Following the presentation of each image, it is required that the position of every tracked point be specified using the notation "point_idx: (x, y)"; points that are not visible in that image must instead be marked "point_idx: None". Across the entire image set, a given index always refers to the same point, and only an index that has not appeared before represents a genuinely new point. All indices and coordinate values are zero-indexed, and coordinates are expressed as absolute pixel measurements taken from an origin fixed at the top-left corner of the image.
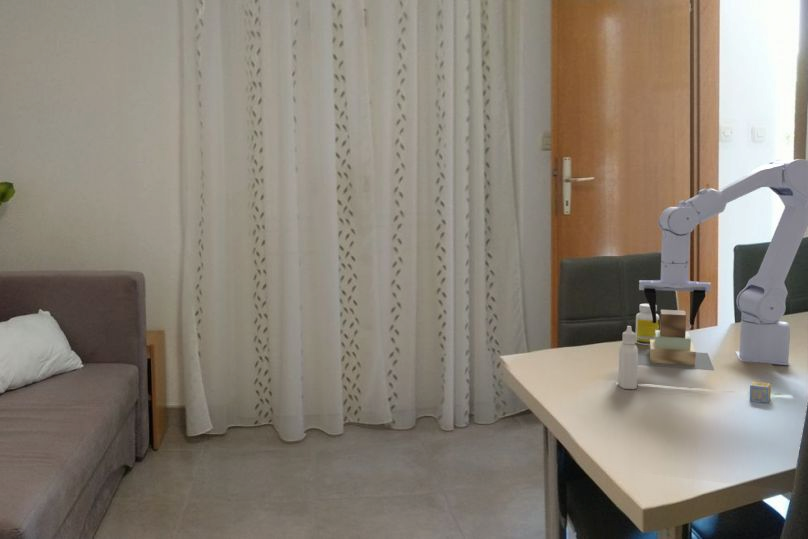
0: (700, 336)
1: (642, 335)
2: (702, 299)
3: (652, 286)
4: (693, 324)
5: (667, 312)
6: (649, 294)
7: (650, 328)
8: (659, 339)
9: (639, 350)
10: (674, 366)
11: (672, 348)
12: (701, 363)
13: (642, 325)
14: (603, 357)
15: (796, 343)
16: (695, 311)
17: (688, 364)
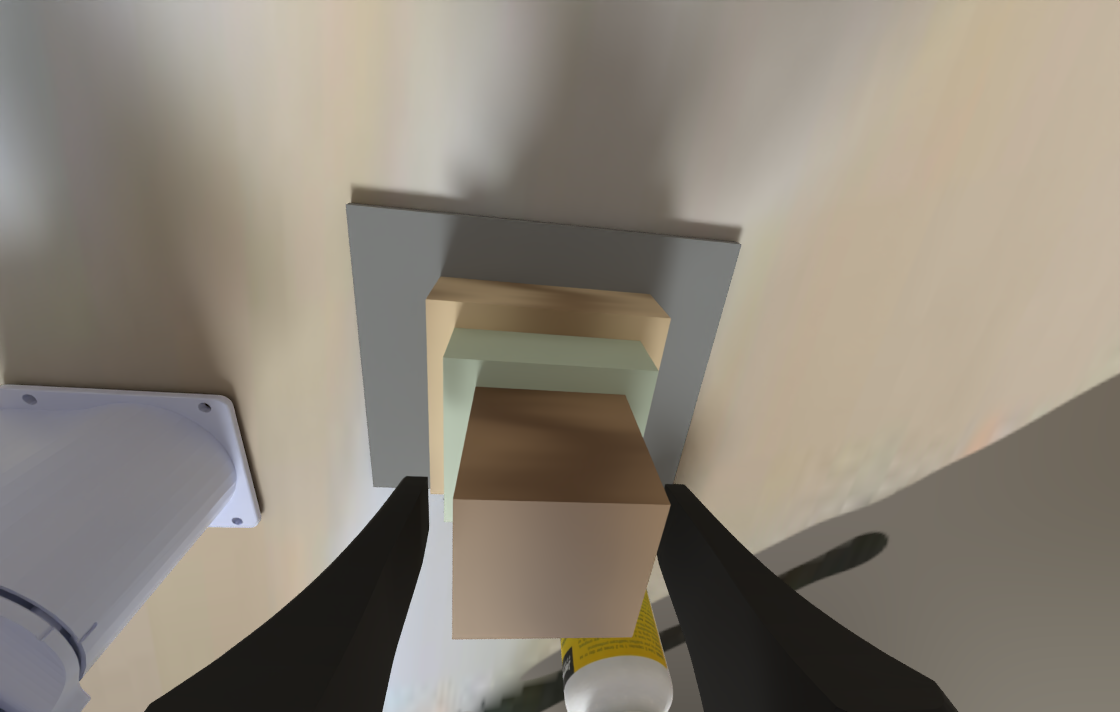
0: (394, 682)
1: None
2: (189, 687)
3: None
4: (404, 477)
5: (602, 564)
6: (929, 708)
7: None
8: (634, 362)
9: None
10: (545, 239)
11: (551, 336)
12: (407, 319)
13: (642, 629)
14: (822, 371)
15: None
16: (356, 555)
17: (472, 279)
